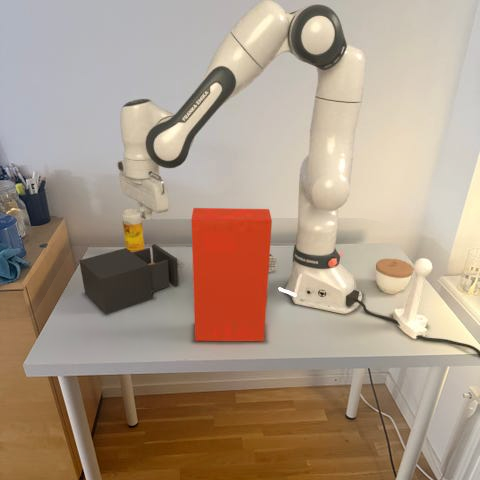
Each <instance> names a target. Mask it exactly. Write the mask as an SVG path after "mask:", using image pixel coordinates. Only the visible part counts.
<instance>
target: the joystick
mask: <svg viewBox="0 0 480 480" xmlns="http://www.w3.org/2000/svg"><path fill="white" fill-rule="evenodd" d="M412 267H413V273H414V274H415V276H414V279H413V282H412V285H411V289H410V292H409V294H408V298H407V301H406V304H405V307H400V308H395V309H394V310H393V315H392V319H394V320H396V321H398V323H399V325H400V326H399V325H397V327H398V328H399V329H400V330H401V331H402V332H403V333H404V334H406V335H407V336H409V338H411V339H417V338H416V336H418V335H419V336H423V337H426V335H427V331H428V329H427V327H426V326H427V323H428V321H429V320H428V318H427V317H426V316H425V315H423V314H418V309H419V305H420V301H421V296H422V291H423V288H424V282H425V279H426V277H427V276H428V275H430V273H432V271H433V263H432V262H431V260H430V259H428V258H427V257H426V258H425V257H422V258H421V257H420V258H418V259H416V260H415V261H414V263H413V265H412Z"/></svg>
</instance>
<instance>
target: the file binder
mask: <svg viewBox="0 0 480 480" xmlns="http://www.w3.org/2000/svg"><path fill="white" fill-rule="evenodd" d="M191 213H192V214H191V221H190V223H191V249H192V250H191V251H192V253H191V254H192V279H193V280H192V283H193V307H194V308H193V311H194V312H193V315H194V341H195V342H264V341H265V333H266V332H265V329H266V318H267V317H266V315H267V300H268V286H269V285H268V284H269V273H270V272H269V257H270V254H271V242H272V226H273V225H272V223H273V219H272V216H271V215H272V214H271V212H270V209H269V208H228V207H227V208H225V207H223V208H221V207H193V208H192V212H191Z"/></svg>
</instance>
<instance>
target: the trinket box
mask: <svg viewBox="0 0 480 480" xmlns="http://www.w3.org/2000/svg"><path fill="white" fill-rule="evenodd" d="M413 273H414V270H413V265H411V263H408V262H407V261H405V260H402V259H397V258H383V259H382V258H381V259H379V260H378V261H377V262H376V263H375V271H374V281H375V283H376V286H377V287H378V288H379V290H380V291H381V292H383V293H386V294H391V295H395V294H399V293H400V292H401V291H403V290H405V289H406V288H407V287H408V285H409V283H410V281H411V278H412V275H413Z"/></svg>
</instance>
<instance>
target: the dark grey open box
mask: <svg viewBox="0 0 480 480" xmlns="http://www.w3.org/2000/svg"><path fill="white" fill-rule="evenodd" d="M78 262H79V267H80V273H81V279H82V283H83V289H84V294H85V295H86V296H87V297H88V299H90V300H91V301H92V302H93V303H94V304H95V305H96V306H97V307H98V308H99V309H100V310H101V311H102V313H104V314H105V315H108V314H109V315H110V314H111V313H114V312H118V311H120V310H124V309H126V308H129V307H132V306H136V305H138V304H141V303H144V302H147V301H150V300H152V299H153V292H152V290H151V279H150V267H149V264H147V263H146V262H145V261H143V260H142V259H140V258H139V257H138V256H136V255H135V254H134V253H132V252H131V251H130V250H128V249H127V248H126V247H123V248H120V249H117V250H113V251H109V252H105V253H100V254H98V255H94V256H91V257H86V258H83V259H79V260H78Z"/></svg>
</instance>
